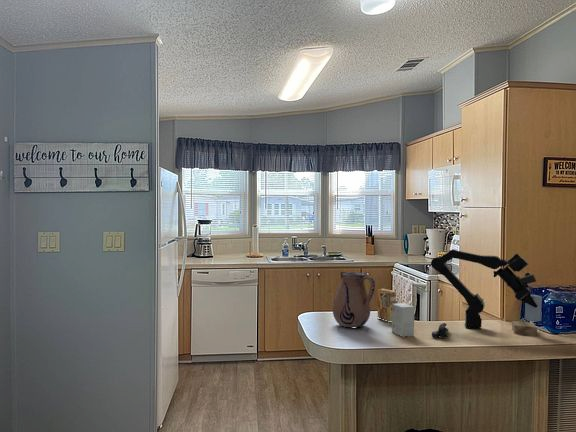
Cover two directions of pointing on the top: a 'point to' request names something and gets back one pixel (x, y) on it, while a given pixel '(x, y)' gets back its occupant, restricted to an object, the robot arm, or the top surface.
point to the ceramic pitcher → (353, 300)
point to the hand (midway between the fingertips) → (536, 305)
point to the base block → (524, 328)
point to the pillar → (534, 309)
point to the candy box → (386, 303)
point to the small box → (403, 319)
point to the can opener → (441, 331)
